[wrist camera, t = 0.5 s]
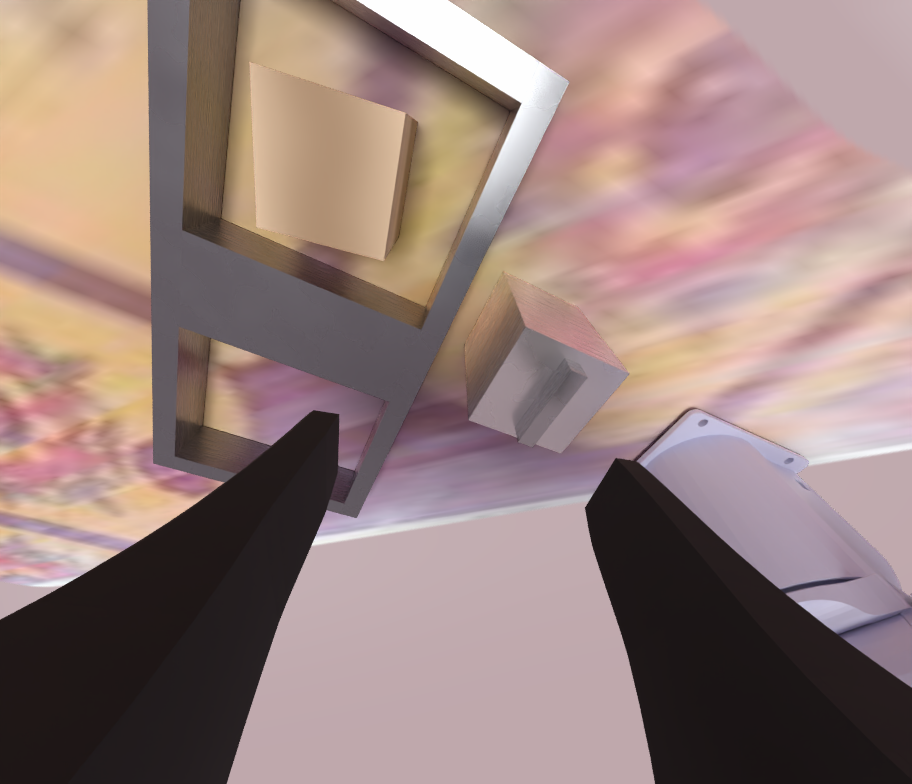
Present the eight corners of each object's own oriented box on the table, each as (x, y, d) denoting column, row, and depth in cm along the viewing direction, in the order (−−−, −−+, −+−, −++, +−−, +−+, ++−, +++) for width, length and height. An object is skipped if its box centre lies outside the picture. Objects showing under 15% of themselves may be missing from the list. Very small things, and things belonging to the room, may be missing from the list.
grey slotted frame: (550, 93, 12) (569, 81, 10) (365, 485, 24) (356, 518, 22) (210, -128, 10) (144, -201, 8) (183, 432, 21) (153, 463, 19)
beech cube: (417, 121, 13) (405, 113, 10) (398, 236, 15) (383, 261, 12) (304, 84, 12) (249, 61, 9) (301, 209, 15) (256, 227, 11)
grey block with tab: (577, 307, 17) (639, 387, 11) (532, 373, 19) (566, 469, 13) (503, 270, 16) (530, 338, 10) (464, 344, 18) (468, 434, 12)
